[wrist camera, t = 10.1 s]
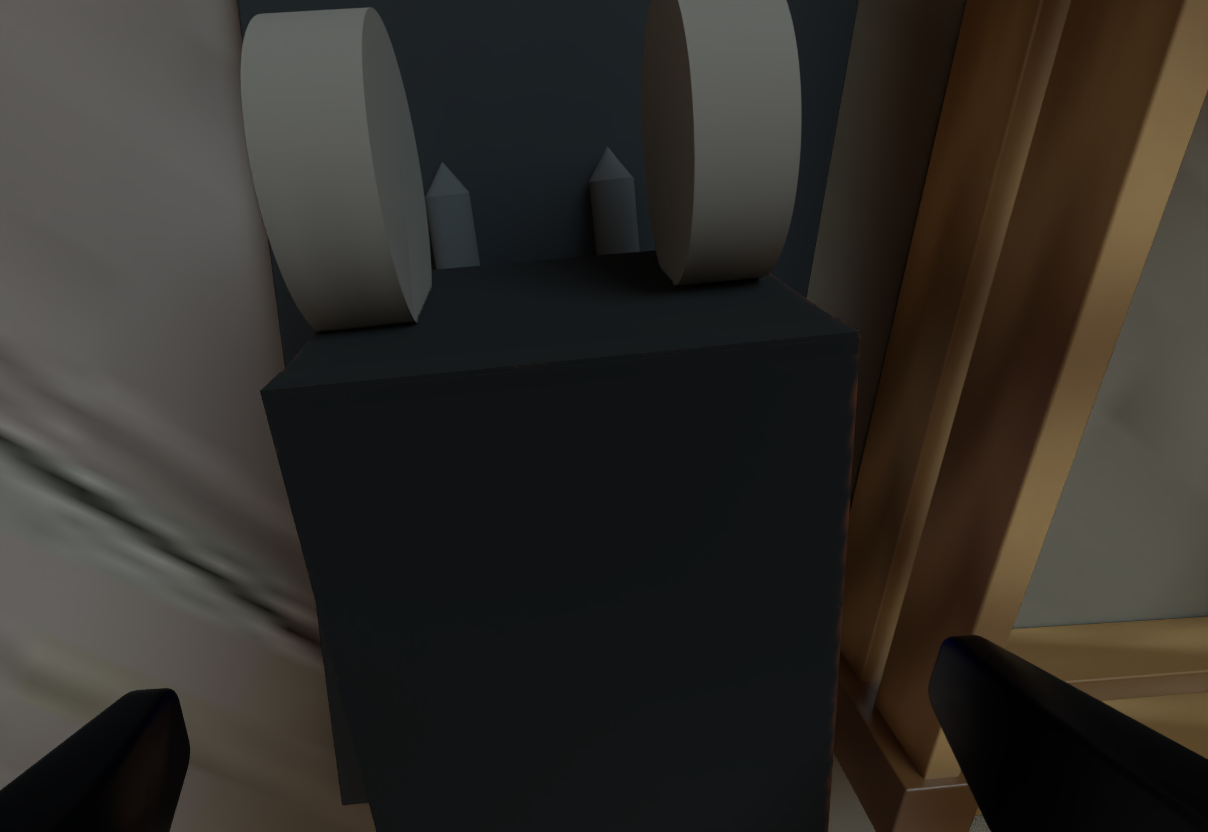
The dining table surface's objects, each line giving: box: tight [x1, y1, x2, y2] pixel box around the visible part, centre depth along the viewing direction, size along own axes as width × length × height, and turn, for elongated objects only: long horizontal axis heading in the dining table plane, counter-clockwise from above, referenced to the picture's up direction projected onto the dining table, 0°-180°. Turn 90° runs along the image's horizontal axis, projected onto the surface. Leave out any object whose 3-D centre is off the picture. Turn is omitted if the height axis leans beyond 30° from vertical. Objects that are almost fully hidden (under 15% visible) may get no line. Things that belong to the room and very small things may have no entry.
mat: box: [237, 0, 858, 805], centre depth 15 cm, size 20×10×1 cm, turn 177°
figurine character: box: [241, 0, 861, 832], centre depth 11 cm, size 7×8×15 cm
